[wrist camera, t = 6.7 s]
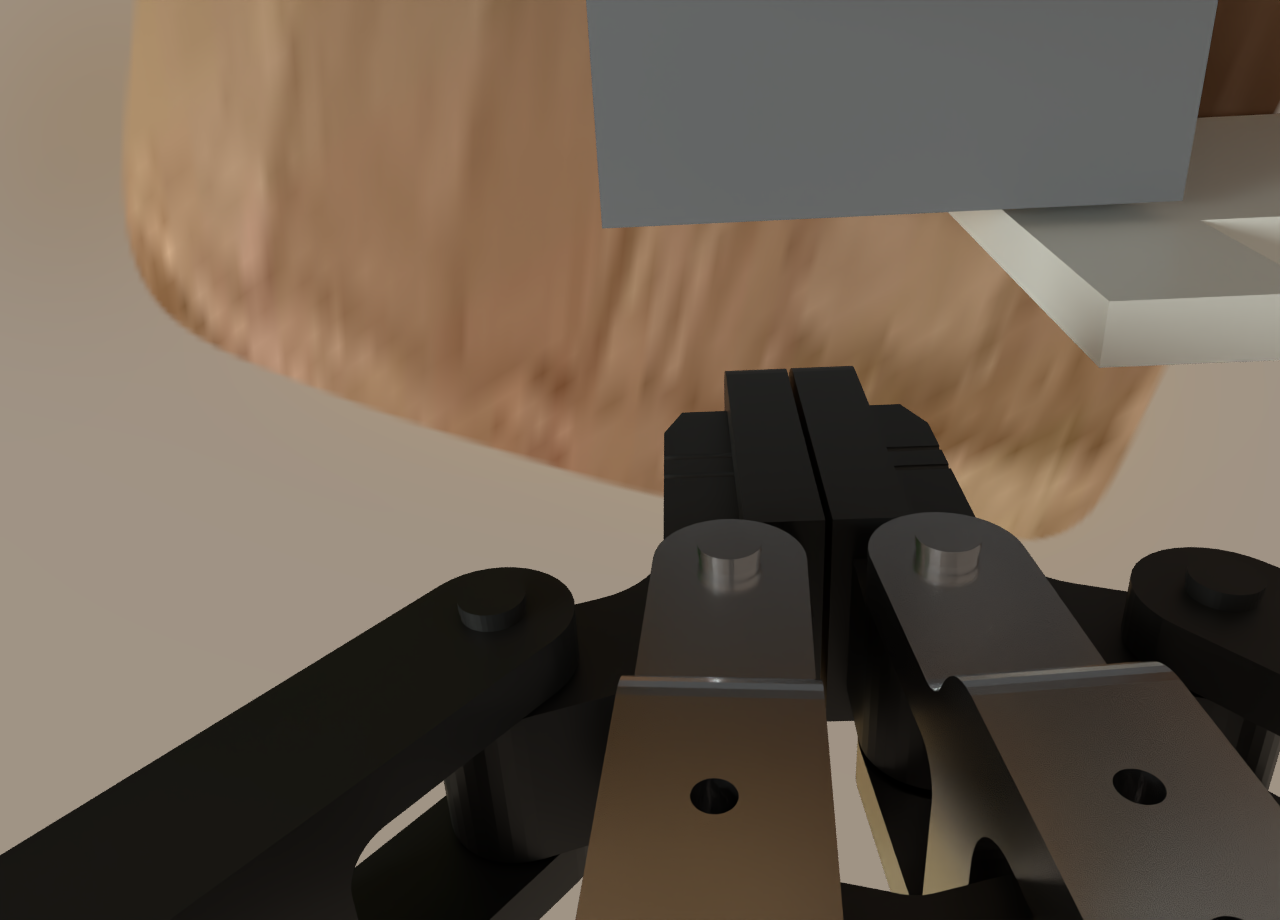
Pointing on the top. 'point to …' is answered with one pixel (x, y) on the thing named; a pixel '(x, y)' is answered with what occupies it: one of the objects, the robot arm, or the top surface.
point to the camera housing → (890, 105)
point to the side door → (1161, 258)
